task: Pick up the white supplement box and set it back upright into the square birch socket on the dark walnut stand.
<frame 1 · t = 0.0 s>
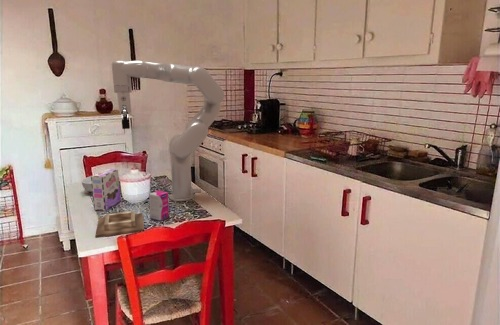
hand: (126, 127, 170), 37 cm above the table, tool pointing down, fingers open, 9 cm apart
supplement box: (160, 218, 160), on the table
cereal bowl: (100, 191, 197), on the table
candy box: (108, 206, 176), on the table
walnut stand: (120, 225, 152), on the table
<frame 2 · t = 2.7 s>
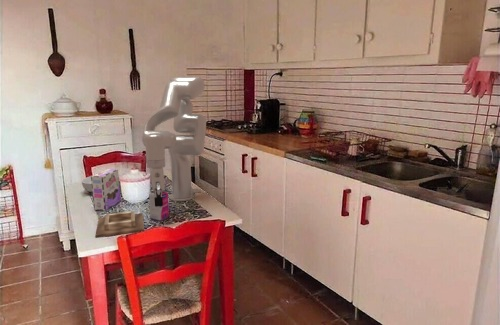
hand: (158, 202, 157), 7 cm above the table, tool pointing down, fingers open, 9 cm apart
supplement box: (160, 218, 160), on the table, touching gripper
everything else where it was.
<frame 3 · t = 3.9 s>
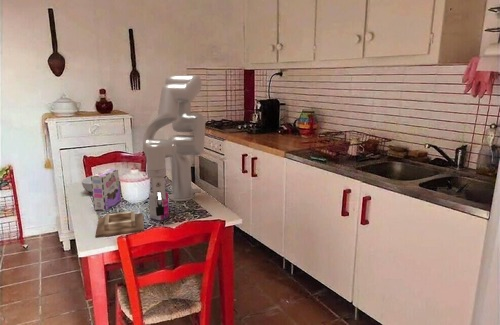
hand: (159, 211, 159), 3 cm above the table, tool pointing down, fingers closed on supplement box, 7 cm apart
supplement box: (159, 218, 160), on the table, touching gripper
everything else where it was.
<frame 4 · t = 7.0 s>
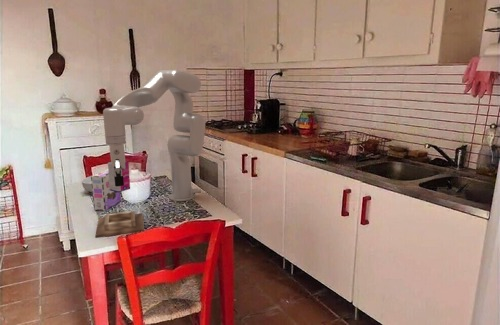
hand: (119, 182, 149), 18 cm above the table, tool pointing down, fingers closed on supplement box, 7 cm apart
supplement box: (120, 190, 149), point 15 cm above the table, touching gripper
everything else where it was.
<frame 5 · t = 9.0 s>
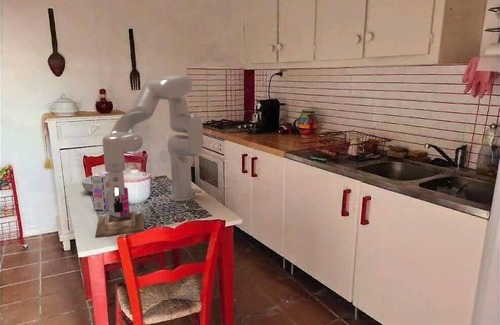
hand: (119, 208, 151), 8 cm above the table, tool pointing down, fingers closed on supplement box, 7 cm apart
supplement box: (119, 215, 151), point 4 cm above the table, touching gripper
everything else where it was.
when the fingers open (6 cm above the table, at t = 10.4 s): supplement box drops 2 cm, resting on walnut stand.
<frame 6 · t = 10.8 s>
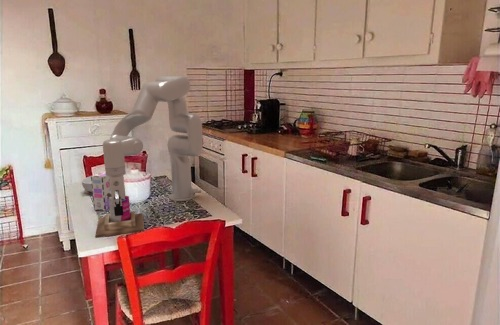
hand: (119, 211, 151), 6 cm above the table, tool pointing down, fingers open, 9 cm apart
supplement box: (121, 223, 152), point 1 cm above the table, touching walnut stand
everything else where it was.
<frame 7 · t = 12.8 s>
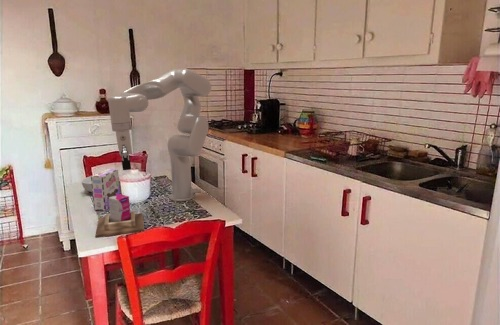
hand: (126, 166, 156), 23 cm above the table, tool pointing down, fingers open, 9 cm apart
nothing on the table moved.
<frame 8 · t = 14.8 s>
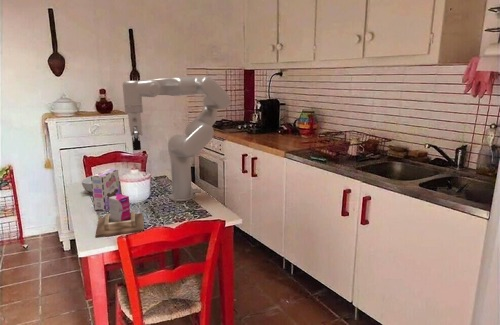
hand: (136, 147, 166), 28 cm above the table, tool pointing down, fingers open, 9 cm apart
nothing on the table moved.
at the end: supplement box 0.2 cm off-centre on the walnut stand, point 0.8 cm above the walnut stand's base; supplement box tilted 0°; the gripper is holding nothing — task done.
